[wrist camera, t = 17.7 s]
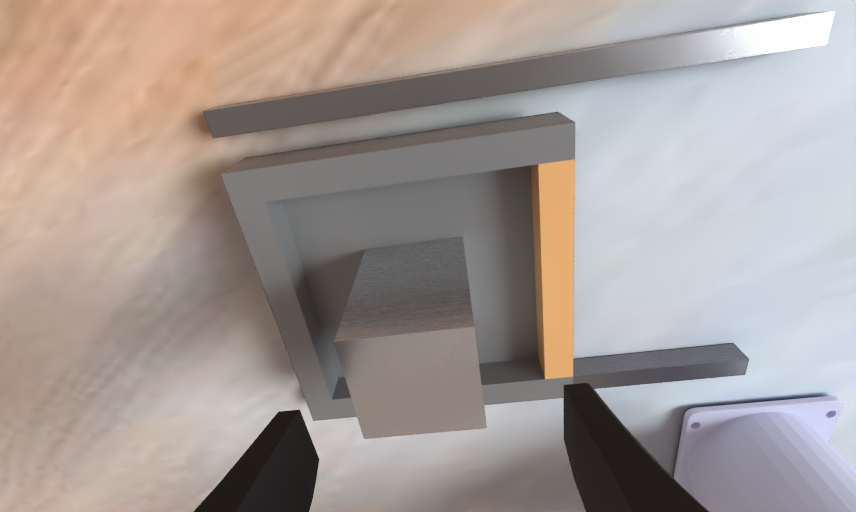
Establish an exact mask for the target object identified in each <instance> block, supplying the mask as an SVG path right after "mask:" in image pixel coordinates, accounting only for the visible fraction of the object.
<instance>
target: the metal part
mask: <svg viewBox="0 0 856 512" xmlns="http://www.w3.org/2000/svg"><path fill="white" fill-rule="evenodd" d="M334 344H335V347H336V350H337V353H338V357H339V360H340V363H341V366H342V370H343V373H344V376H345V379H346V382H347V386H348V389H349V392H350V395H351V398H352V402H353V405H354V408H355V411H356V414H357V418H358V421H359V424H360V427H361V430H362V434H363V437H364V439H368V438H379V437H390V436H402V435H413V434H424V433H436V432H447V431H458V430H470V429H481V428H487V426H486V418H485V410H484V401H483V393H482V385H481V377H480V369H479V361H478V353H477V344H476V336H475V328H474V320H473V312H472V304H471V297H470V289H469V281H468V273H467V265H466V257H465V249H464V241H463V236H462V237H454V238H446V239H438V240H430V241H422V242H415V243H407V244H399V245H391V246H383V247H375V248H367V249H365V252H364V255H363V258H362V261H361V264H360V267H359V269H358V272H357V275H356V278H355V281H354V284H353V287H352V290H351V293H350V296H349V299H348V302H347V305H346V308H345V311H344V314H343V317H342V319H341V322H340V325H339V328H338V331H337V334H336V337H335V340H334Z"/></svg>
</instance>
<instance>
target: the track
mask: <svg viewBox="0 0 856 512" xmlns="http://www.w3.org/2000/svg"><path fill="white" fill-rule="evenodd" d="M834 13H835V11H828V12H813V13H803V14H797V15H790V16H784V17H778V18H772V19H765V20H759V21H753V22H746V23H740V24H734V25H728V26H721V27H715V28H709V29H703V30H696V31H690V32H684V33H677V34H671V35H665V36H659V37H652V38H646V39H640V40H634V41H627V42H621V43H615V44H608V45H602V46H596V47H590V48H583V49H577V50H571V51H564V52H558V53H552V54H546V55H539V56H533V57H527V58H521V59H514V60H508V61H502V62H495V63H489V64H483V65H477V66H470V67H464V68H458V69H452V70H445V71H439V72H433V73H426V74H420V75H414V76H408V77H401V78H395V79H389V80H383V81H376V82H370V83H364V84H357V85H351V86H345V87H339V88H332V89H326V90H320V91H313V92H307V93H301V94H295V95H288V96H282V97H276V98H270V99H263V100H257V101H251V102H244V103H238V104H232V105H226V106H219V107H215V108H212V109H209V110H206V111H203V113H204V116H205V118H206V121H207V124H208V127H209V129H210V132H211V135H212V137H213V138H219V137H226V136H232V135H239V134H245V133H252V132H258V131H265V130H271V129H278V128H285V127H291V126H298V125H304V124H311V123H317V122H324V121H330V120H337V119H343V118H350V117H357V116H363V115H370V114H376V113H383V112H389V111H396V110H402V109H409V108H415V107H422V106H428V105H435V104H442V103H448V102H455V101H461V100H468V99H474V98H481V97H487V96H494V95H500V94H507V93H513V92H520V91H527V90H533V89H540V88H546V87H553V86H559V85H566V84H572V83H579V82H585V81H592V80H599V79H605V78H612V77H618V76H625V75H631V74H638V73H644V72H651V71H657V70H664V69H670V68H677V67H684V66H690V65H697V64H703V63H710V62H716V61H723V60H729V59H736V58H742V57H749V56H755V55H762V54H769V53H775V52H782V51H788V50H795V49H801V48H808V47H814V46H821V45H827V41H828V37H829V33H830V29H831V25H832V21H833V17H834ZM748 361H749V359H748V358H747V356H746V355H745V354H744V353H743V352H742V351H741V350H740V349H739V348H738V347H737V346H736V345H735V344H734V343H731V344H721V345H711V346H701V347H691V348H681V349H671V350H661V351H650V352H640V353H630V354H620V355H610V356H600V357H590V358H580V359H573V384H579V383H588V384H590V385H591V386H592V387H593V388H594V389H597V388H607V387H618V386H629V385H640V384H650V383H661V382H672V381H683V380H693V379H704V378H715V377H725V376H736V375H745V373H746V369H747V365H748Z"/></svg>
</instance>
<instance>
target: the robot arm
mask: <svg viewBox="0 0 856 512" xmlns="http://www.w3.org/2000/svg"><path fill="white" fill-rule="evenodd" d="M842 407H843V403H842V401H841V400H840V399H838V398H837V397H835V396H823V397H811V398H800V399H788V400H777V401H766V402H754V403H743V404H732V405H720V406H709V407H697V408H691V409H689V410H687V411H686V412H685V415H684V420H683V425H682V431H681V437H680V443H679V449H678V455H677V460H676V466H675V472H674V478H673V477H672V476H671V475H670V474H669V473H668V472H667V471H666V470H665V469H664V468H663V467H662V466H661V465H660V464H659V463H658V462H657V461H656V460H655V459H654V458H653V457H652V456H651V455H650V454H649V453H648V452H647V450H646V449H645V448H644V447H643V446H642V445H641V444H640V443H639V442H638V441H637V440H636V439H635V438H634V436H633V435H632V434H631V433H630V432H629V431H628V430H627V429H626V427H625V426H624V425H623V424H622V423H621V422H620V421H619V419H618V418H617V417H616V416H615V415H614V413H613V412H612V411H611V410H610V409H609V407H608V406H607V405H606V404H605V403H604V401H603V400H602V399H601V398H600V396H599V395H598V394H597V392H596V391H595V390H594V388H593V387H592V386H591V385H590V384H588V383H579V384H568V385H564V441H565V445H566V449H567V453H568V457H569V461H570V465H571V468H572V472H573V476H574V479H575V482H576V485H577V488H578V491H579V493H580V496H581V499H582V501H583V504H584V507H585V510H586V512H856V469H855V468H854V467H853V466H852V465H851V464H850V462H849V461H848V460H847V459H846V458H845V457H844V456H843V455H842V454H841V453H840V452H839V451H838V450H837V449H836V448H835V447H834V446H833V445H832V444H831V443H830V442H829V440H830V437H831V435H832V432H833V430H834V427H835V425H836V422H837V420H838V417H839V415H840V412H841V410H842ZM318 463H319V458H318V455H317V453H316V450H315V448H314V445H313V443H312V440H311V437H310V435H309V432H308V430H307V427H306V425H305V422H304V420H303V417H302V415H301V412H300V410H292V411H282V412H278V413H277V414H276V416H275V417H274V418H273V419H272V420H271V422H270V423H269V424H268V425H267V426H266V428H265V429H264V430H263V431H262V432H261V434H260V435H259V436H258V437H257V439H256V440H255V441H254V442H253V444H252V445H251V446H250V447H249V448H248V450H247V451H246V452H245V453H244V454H243V456H242V457H241V458H240V459H239V461H238V462H237V463H236V464H235V465H234V466H233V468H232V469H231V470H230V471H229V472H228V474H227V475H226V476H225V477H224V478H223V479H222V481H221V482H220V483H219V484H218V485H217V486H216V488H215V489H214V490H213V491H212V492H211V493H210V494H209V495H208V496H207V497H206V499H205V500H204V501H203V502H202V503H201V504H200V505H199V506H198V507H197V509H196V510H195V511H194V512H309V510H310V506H311V502H312V499H313V493H314V488H315V482H316V476H317V470H318Z"/></svg>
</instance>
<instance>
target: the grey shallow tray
mask: <svg viewBox="0 0 856 512" xmlns="http://www.w3.org/2000/svg"><path fill="white" fill-rule="evenodd" d="M221 177H222V180H223V182H224V185H225V187H226V190H227V193H228V195H229V198H230V201H231V203H232V206H233V209H234V211H235V214H236V217H237V219H238V222H239V225H240V227H241V230H242V233H243V235H244V238H245V241H246V243H247V246H248V248H249V251H250V254H251V256H252V259H253V262H254V264H255V267H256V270H257V272H258V275H259V278H260V280H261V283H262V286H263V288H264V291H265V294H266V296H267V299H268V302H269V304H270V307H271V309H272V312H273V315H274V317H275V320H276V323H277V325H278V328H279V331H280V333H281V336H282V339H283V341H284V344H285V347H286V349H287V352H288V355H289V357H290V360H291V363H292V365H293V368H294V370H295V373H296V376H297V378H298V381H299V384H300V386H301V389H302V392H303V394H304V397H305V400H306V402H307V405H308V408H309V410H310V413H311V416H312V418H313V421H316V420H327V419H338V418H348V417H357V414H356V411H355V408H354V405H353V402H352V398H351V395H350V392H349V389H348V386H347V382H346V379H345V376H344V373H343V370H342V366H341V363H340V360H339V357H338V353H337V350H336V347H335V344H334V340H335V337H336V334H337V331H338V328H339V325H340V322H341V319H342V317H343V314H344V311H345V308H346V305H347V302H348V299H349V296H350V293H351V290H352V287H353V284H354V281H355V278H356V275H357V272H358V269H359V267H360V264H361V261H362V258H363V255H364V252H365V249H367V248H375V247H383V246H391V245H399V244H407V243H415V242H422V241H430V240H438V239H446V238H454V237H462V236H463V241H464V249H465V257H466V265H467V273H468V281H469V289H470V297H471V304H472V312H473V320H474V328H475V336H476V344H477V353H478V361H479V369H480V377H481V385H482V393H483V401H484V405H490V404H501V403H512V402H522V401H533V400H544V399H555V398H564V385H568V384H573V325H574V199H575V122H574V121H572V120H570V119H569V118H567V117H565V116H564V115H562V114H561V113H559V112H553V113H546V114H540V115H533V116H526V117H519V118H512V119H506V120H499V121H492V122H485V123H479V124H472V125H465V126H458V127H452V128H445V129H438V130H431V131H425V132H418V133H411V134H404V135H397V136H391V137H384V138H377V139H370V140H364V141H357V142H350V143H343V144H337V145H330V146H323V147H316V148H310V149H303V150H296V151H289V152H282V153H276V154H269V155H262V156H255V157H249V158H245V159H243V160H242V161H240V162H239V163H237V164H235V165H234V166H232V167H231V168H229V169H228V170H226V171H224V172H223V173H221Z"/></svg>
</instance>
